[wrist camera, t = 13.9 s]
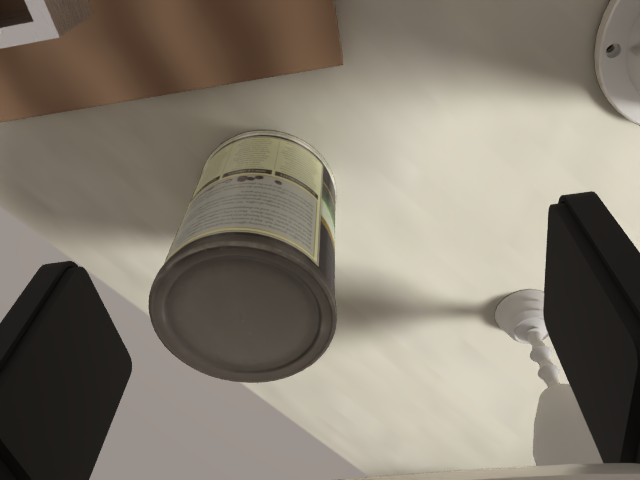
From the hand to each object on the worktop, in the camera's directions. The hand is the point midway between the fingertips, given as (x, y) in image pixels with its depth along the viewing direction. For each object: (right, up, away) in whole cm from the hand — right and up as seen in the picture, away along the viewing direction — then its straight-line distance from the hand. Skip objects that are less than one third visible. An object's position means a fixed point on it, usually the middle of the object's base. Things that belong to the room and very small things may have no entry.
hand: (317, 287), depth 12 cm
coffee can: (-4, +5, +32) cm, 32 cm away
